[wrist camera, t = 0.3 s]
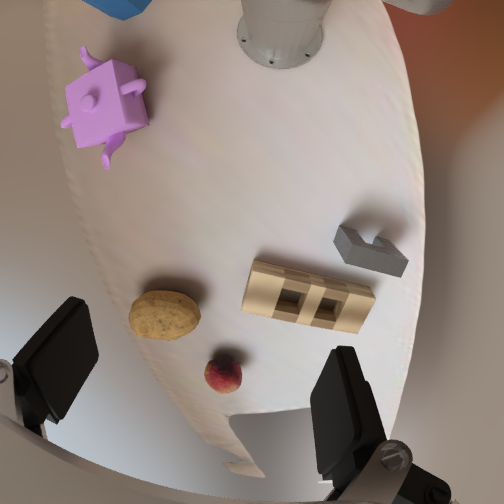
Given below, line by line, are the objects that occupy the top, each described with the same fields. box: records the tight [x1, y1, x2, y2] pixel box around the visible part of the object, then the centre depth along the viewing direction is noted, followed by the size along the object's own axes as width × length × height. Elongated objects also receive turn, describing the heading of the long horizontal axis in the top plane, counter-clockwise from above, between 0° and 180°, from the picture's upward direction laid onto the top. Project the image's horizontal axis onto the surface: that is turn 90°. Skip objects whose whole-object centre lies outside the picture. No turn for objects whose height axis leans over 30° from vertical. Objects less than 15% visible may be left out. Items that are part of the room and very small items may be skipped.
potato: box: [129, 290, 201, 341], centre depth 48 cm, size 10×14×8 cm
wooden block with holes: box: [241, 260, 376, 334], centre depth 48 cm, size 8×22×4 cm, turn 76°
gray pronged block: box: [333, 226, 409, 278], centre depth 41 cm, size 10×3×8 cm, turn 76°
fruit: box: [204, 356, 242, 394], centre depth 54 cm, size 8×8×8 cm
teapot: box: [61, 46, 150, 170], centre depth 33 cm, size 15×13×11 cm
